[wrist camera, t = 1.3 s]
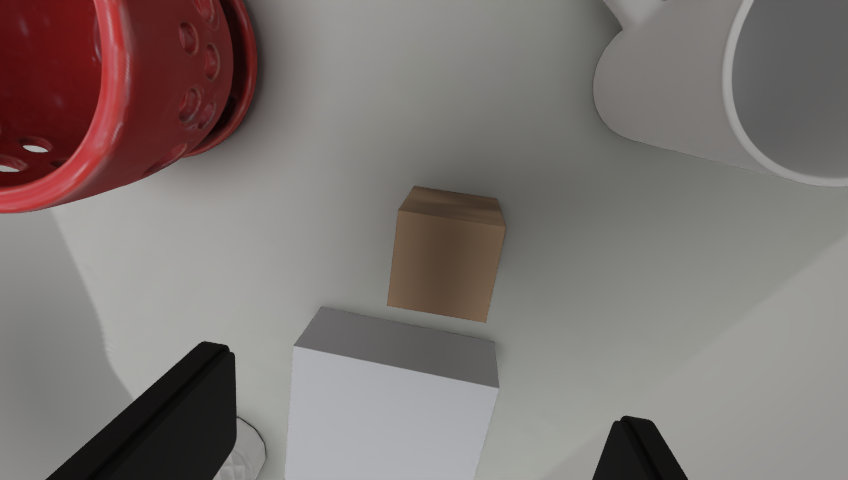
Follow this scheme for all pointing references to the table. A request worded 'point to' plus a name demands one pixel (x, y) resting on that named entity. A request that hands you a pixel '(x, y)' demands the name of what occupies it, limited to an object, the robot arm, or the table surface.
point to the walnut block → (446, 253)
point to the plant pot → (115, 91)
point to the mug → (733, 83)
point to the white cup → (244, 455)
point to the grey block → (387, 401)
